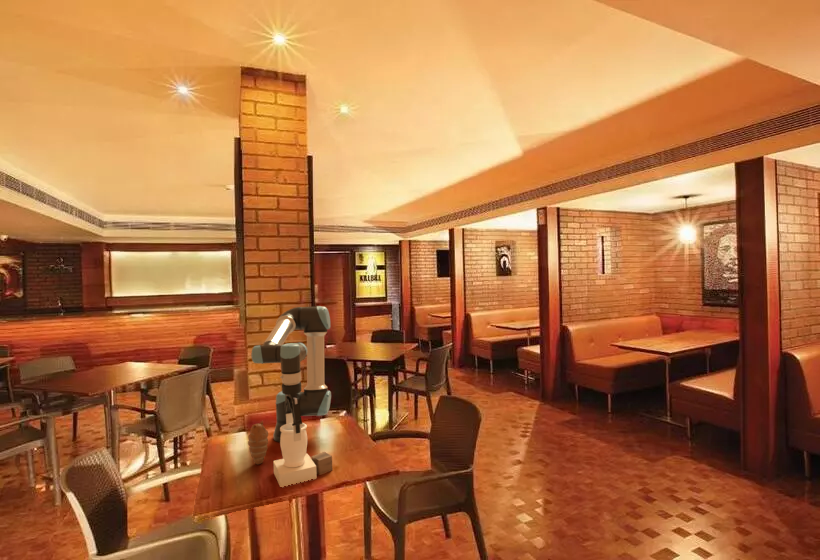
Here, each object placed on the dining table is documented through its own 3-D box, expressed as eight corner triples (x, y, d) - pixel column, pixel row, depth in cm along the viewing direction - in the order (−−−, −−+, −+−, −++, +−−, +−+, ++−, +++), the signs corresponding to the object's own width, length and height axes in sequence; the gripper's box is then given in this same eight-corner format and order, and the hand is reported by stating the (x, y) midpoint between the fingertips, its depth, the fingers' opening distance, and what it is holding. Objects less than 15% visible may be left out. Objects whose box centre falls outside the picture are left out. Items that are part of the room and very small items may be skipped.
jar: (312, 458, 178) (311, 422, 178) (300, 470, 168) (299, 431, 168) (288, 457, 180) (287, 421, 180) (275, 468, 170) (274, 430, 170)
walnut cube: (312, 470, 179) (311, 456, 178) (324, 465, 183) (324, 451, 182) (319, 475, 174) (319, 460, 174) (332, 470, 178) (331, 455, 178)
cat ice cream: (256, 470, 180) (255, 427, 180) (244, 466, 184) (242, 424, 184) (273, 461, 188) (271, 420, 187) (261, 458, 192) (259, 417, 191)
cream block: (273, 472, 177) (273, 460, 177) (307, 464, 184) (307, 453, 183) (280, 487, 165) (280, 474, 165) (316, 478, 171) (316, 466, 171)
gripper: (276, 376, 182) (278, 426, 183) (288, 392, 160) (291, 448, 161) (293, 374, 186) (295, 422, 187) (308, 388, 164) (310, 443, 165)
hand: (293, 434), depth 174 cm, fingers open, 13 cm apart
